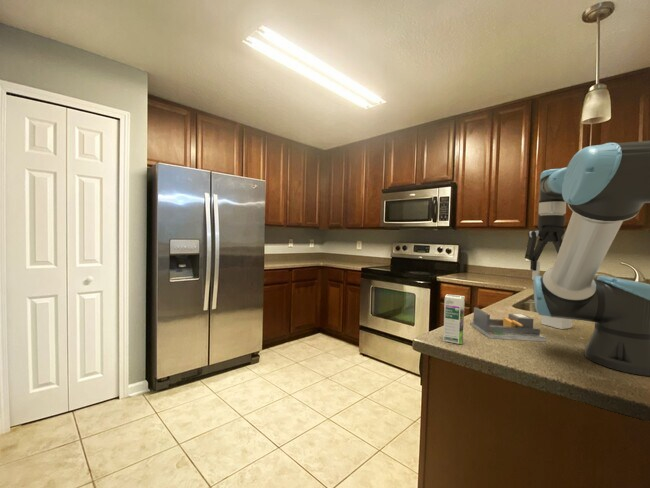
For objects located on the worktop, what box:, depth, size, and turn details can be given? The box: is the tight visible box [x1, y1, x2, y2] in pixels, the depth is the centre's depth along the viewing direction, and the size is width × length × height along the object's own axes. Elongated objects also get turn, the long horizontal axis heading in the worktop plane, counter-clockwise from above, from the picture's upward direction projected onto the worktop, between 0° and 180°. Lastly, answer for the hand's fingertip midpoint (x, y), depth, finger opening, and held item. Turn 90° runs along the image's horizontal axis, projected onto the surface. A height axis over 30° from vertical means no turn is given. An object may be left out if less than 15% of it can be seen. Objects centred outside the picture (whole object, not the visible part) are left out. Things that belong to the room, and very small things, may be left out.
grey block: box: [507, 313, 534, 328], centre depth 103 cm, size 6×5×5 cm
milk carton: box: [541, 315, 573, 330], centre depth 113 cm, size 7×7×19 cm
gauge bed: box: [469, 307, 547, 342], centre depth 104 cm, size 15×18×7 cm
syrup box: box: [442, 293, 466, 345], centre depth 94 cm, size 6×6×14 cm
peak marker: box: [503, 317, 523, 327], centre depth 101 cm, size 10×2×3 cm, turn 175°
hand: (547, 280), depth 102 cm, fingers open, 8 cm apart
